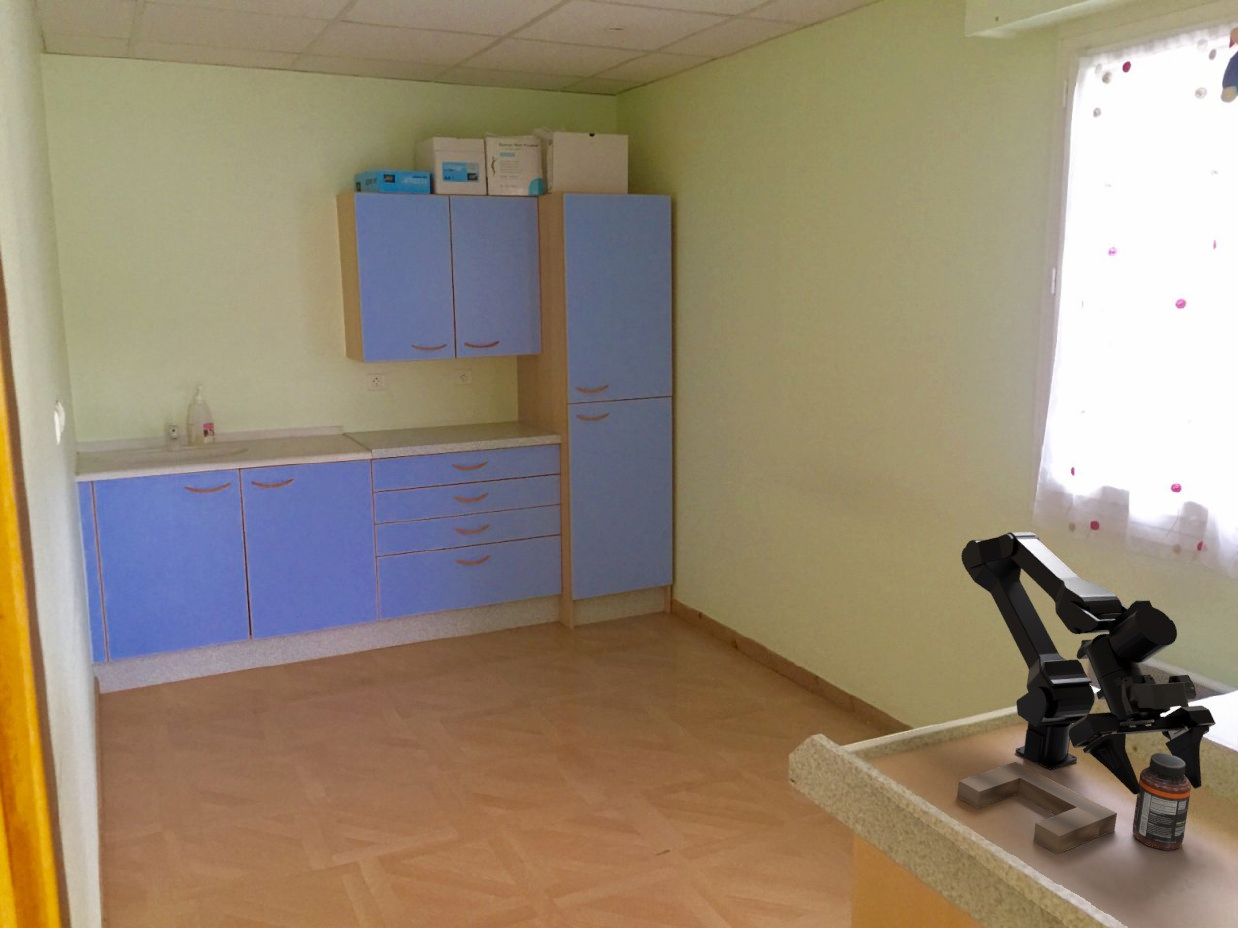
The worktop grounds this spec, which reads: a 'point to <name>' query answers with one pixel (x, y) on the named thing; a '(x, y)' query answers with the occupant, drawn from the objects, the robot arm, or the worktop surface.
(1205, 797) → the worktop surface
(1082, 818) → the notched board
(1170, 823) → the supplement bottle
